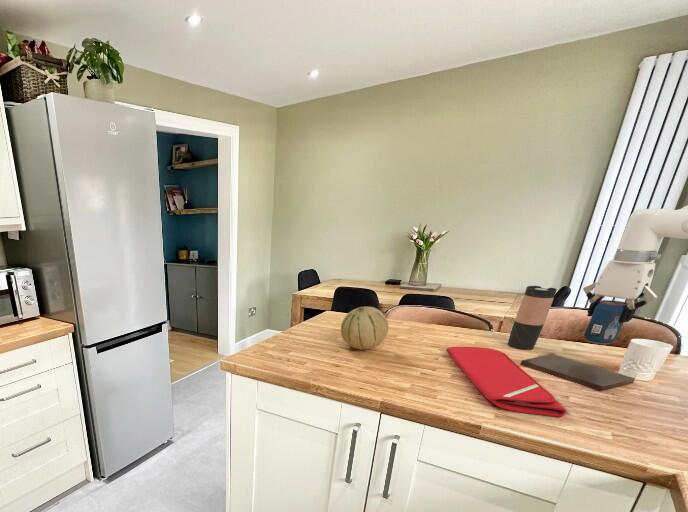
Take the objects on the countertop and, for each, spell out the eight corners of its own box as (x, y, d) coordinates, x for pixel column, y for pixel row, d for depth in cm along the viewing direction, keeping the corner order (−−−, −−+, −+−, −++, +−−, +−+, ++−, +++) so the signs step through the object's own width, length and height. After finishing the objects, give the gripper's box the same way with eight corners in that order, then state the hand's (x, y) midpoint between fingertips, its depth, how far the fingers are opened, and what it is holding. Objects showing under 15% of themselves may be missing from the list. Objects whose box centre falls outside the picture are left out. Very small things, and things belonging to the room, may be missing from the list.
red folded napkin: (500, 357, 128) (504, 346, 126) (566, 418, 93) (572, 404, 91) (444, 352, 133) (447, 342, 131) (487, 409, 98) (491, 396, 96)
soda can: (591, 336, 125) (607, 298, 120) (619, 343, 119) (637, 303, 114) (576, 339, 123) (592, 301, 118) (604, 346, 117) (622, 306, 112)
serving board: (632, 383, 109) (635, 378, 109) (600, 391, 105) (603, 386, 105) (550, 358, 126) (552, 354, 126) (519, 364, 122) (521, 360, 122)
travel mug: (514, 349, 134) (536, 290, 125) (501, 342, 141) (521, 285, 132) (539, 350, 133) (563, 290, 124) (525, 343, 139) (547, 285, 131)
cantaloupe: (392, 349, 137) (402, 306, 130) (367, 359, 129) (376, 314, 123) (353, 338, 148) (360, 298, 141) (329, 347, 140) (335, 305, 134)
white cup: (615, 368, 118) (630, 336, 114) (654, 376, 113) (672, 342, 109) (614, 376, 113) (630, 343, 109) (655, 384, 108) (674, 350, 104)
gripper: (685, 259, 104) (654, 324, 112) (602, 253, 119) (580, 311, 127) (669, 261, 102) (638, 327, 110) (586, 254, 117) (564, 313, 125)
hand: (607, 318), depth 118 cm, fingers closed on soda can, 7 cm apart
